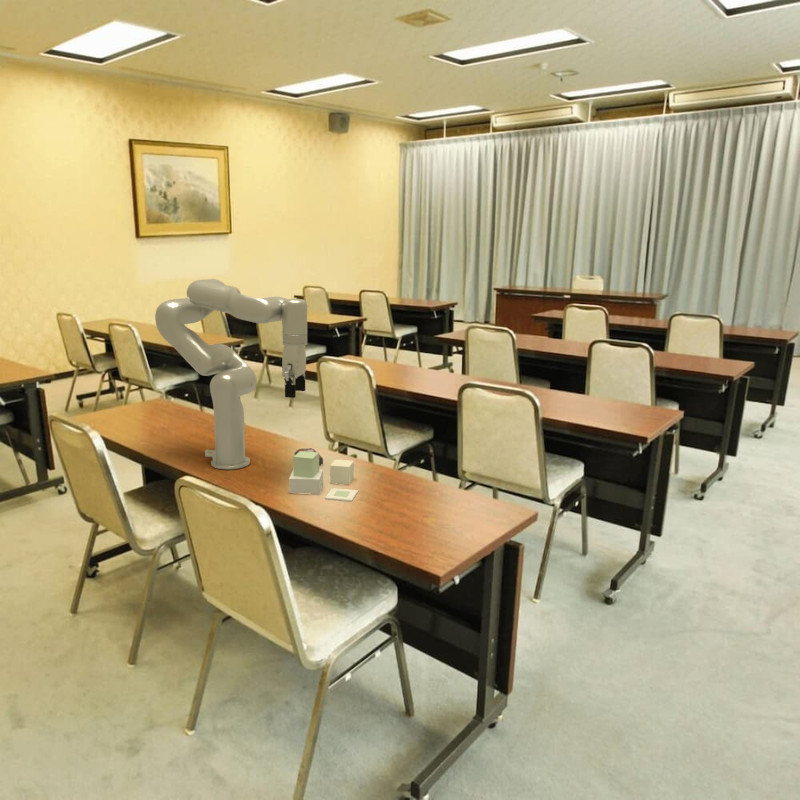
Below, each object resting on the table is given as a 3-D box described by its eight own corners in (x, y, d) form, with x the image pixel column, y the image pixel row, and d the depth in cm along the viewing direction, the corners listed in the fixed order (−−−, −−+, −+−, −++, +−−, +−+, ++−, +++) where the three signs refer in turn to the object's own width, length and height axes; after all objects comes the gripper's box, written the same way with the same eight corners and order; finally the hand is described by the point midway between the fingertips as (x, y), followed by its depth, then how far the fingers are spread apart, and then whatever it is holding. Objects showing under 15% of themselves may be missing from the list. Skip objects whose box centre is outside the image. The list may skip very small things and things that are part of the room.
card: (324, 499, 190) (324, 497, 190) (332, 489, 198) (332, 487, 198) (351, 501, 189) (351, 499, 189) (358, 491, 197) (358, 489, 197)
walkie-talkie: (288, 457, 228) (304, 476, 210) (288, 445, 227) (304, 463, 209) (313, 455, 232) (330, 473, 214) (313, 443, 231) (330, 460, 213)
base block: (289, 494, 194) (289, 478, 193) (293, 483, 203) (293, 468, 201) (319, 495, 194) (319, 479, 193) (322, 484, 203) (322, 469, 202)
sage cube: (293, 475, 195) (293, 456, 194) (300, 469, 201) (300, 450, 199) (312, 477, 194) (312, 458, 193) (319, 471, 200) (319, 452, 198)
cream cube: (330, 483, 203) (330, 465, 202) (335, 477, 209) (335, 459, 207) (349, 485, 202) (349, 466, 201) (353, 478, 208) (353, 460, 207)
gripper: (292, 335, 210) (292, 387, 214) (273, 342, 193) (274, 399, 197) (314, 336, 209) (315, 389, 213) (297, 344, 192) (298, 400, 196)
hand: (295, 393), depth 205 cm, fingers open, 9 cm apart
